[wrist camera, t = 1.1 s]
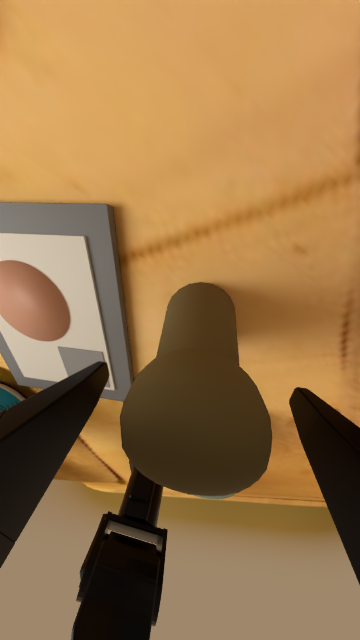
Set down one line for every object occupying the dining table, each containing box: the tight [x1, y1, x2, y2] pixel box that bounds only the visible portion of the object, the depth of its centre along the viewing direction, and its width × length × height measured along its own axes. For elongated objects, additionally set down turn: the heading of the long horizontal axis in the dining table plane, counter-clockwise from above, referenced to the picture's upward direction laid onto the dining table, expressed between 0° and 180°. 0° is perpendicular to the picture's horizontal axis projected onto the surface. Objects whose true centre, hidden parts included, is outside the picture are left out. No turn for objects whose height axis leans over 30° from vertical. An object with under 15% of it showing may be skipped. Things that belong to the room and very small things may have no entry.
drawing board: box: [0, 202, 134, 402], centre depth 16 cm, size 20×16×1 cm
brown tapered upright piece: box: [120, 282, 272, 496], centre depth 9 cm, size 6×6×11 cm
